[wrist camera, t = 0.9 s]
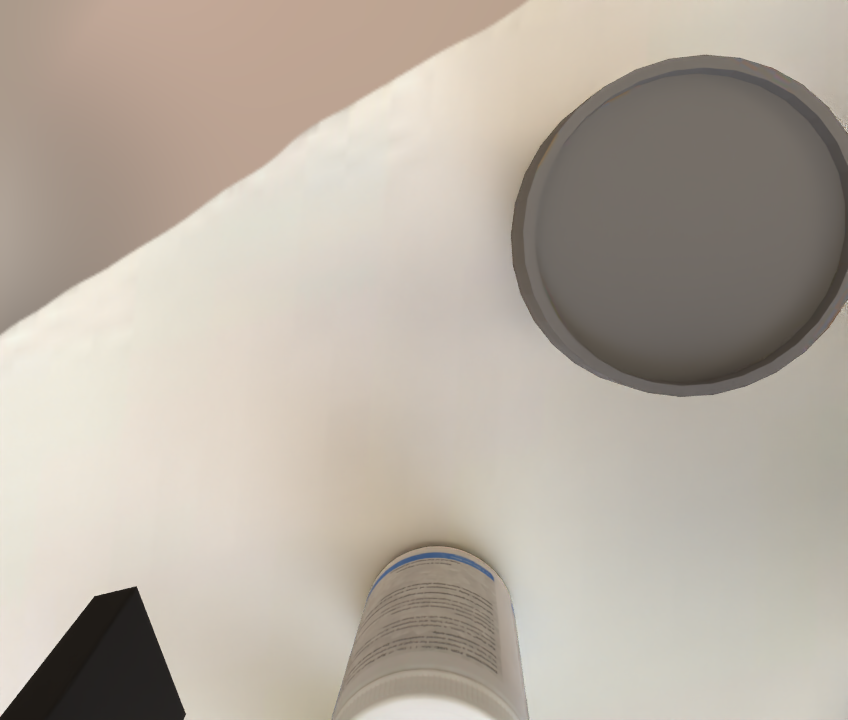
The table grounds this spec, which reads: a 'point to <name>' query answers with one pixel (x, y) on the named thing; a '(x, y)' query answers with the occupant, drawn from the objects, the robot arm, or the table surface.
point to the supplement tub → (435, 644)
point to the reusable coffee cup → (687, 227)
